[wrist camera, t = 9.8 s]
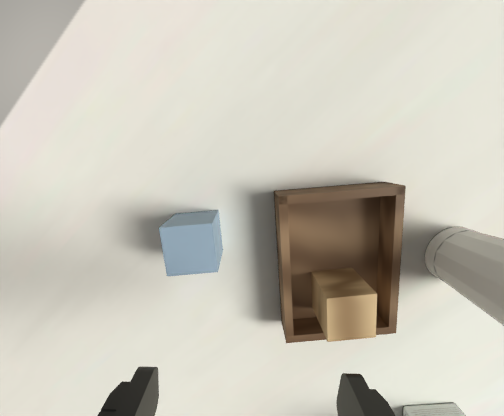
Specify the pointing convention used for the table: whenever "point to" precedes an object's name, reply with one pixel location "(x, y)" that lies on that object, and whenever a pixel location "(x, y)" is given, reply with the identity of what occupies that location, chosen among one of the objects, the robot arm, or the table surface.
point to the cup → (470, 266)
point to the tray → (338, 248)
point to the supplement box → (433, 410)
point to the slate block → (192, 243)
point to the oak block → (344, 304)
